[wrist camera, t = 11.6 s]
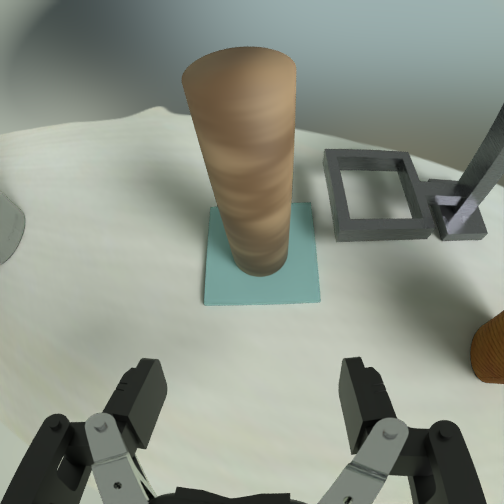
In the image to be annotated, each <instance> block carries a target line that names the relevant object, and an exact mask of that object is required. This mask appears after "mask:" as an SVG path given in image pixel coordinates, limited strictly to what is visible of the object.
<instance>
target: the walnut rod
mask: <svg viewBox="0 0 504 504" xmlns="http://www.w3.org/2000/svg"><path fill="white" fill-rule="evenodd" d="M182 84H183V88H184V92H185V95H186V99H187V102H188V106H189V110H190V113H191V117H192V120H193V124H194V127H195V131H196V134H197V138H198V141H199V145H200V148H201V152H202V155H203V158H204V162H205V165H206V169H207V172H208V175H209V179H210V182H211V186H212V189H213V192H214V196H215V199H216V202H217V206H218V209H219V212H220V216H221V219H222V222H223V226H224V229H225V232H226V235H227V239H228V242H229V245H230V248H231V252H232V255H233V258H234V261H235V263H236V265H237V266H238V268H239V269H240V270H241V271H243V272H244V273H246V274H248V275H251V276H255V277H265V276H269V275H272V274H274V273H276V272H277V271H278V270H280V269H281V268H282V266H283V265H284V264H285V262H286V260H287V256H288V245H289V231H290V215H291V199H292V180H293V160H294V135H295V105H296V104H295V103H296V65H295V63H294V62H293V60H292V59H291V58H290V57H288V56H287V55H285V54H283V53H281V52H279V51H276V50H272V49H268V48H262V47H235V48H229V49H224V50H219V51H216V52H213V53H210V54H208V55H205V56H203V57H201V58H200V59H198V60H196V61H195V62H193V63H192V64H191V65H190V66H189V67H188V68H187V69H186V70H185V72H184V73H183V75H182Z"/></svg>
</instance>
